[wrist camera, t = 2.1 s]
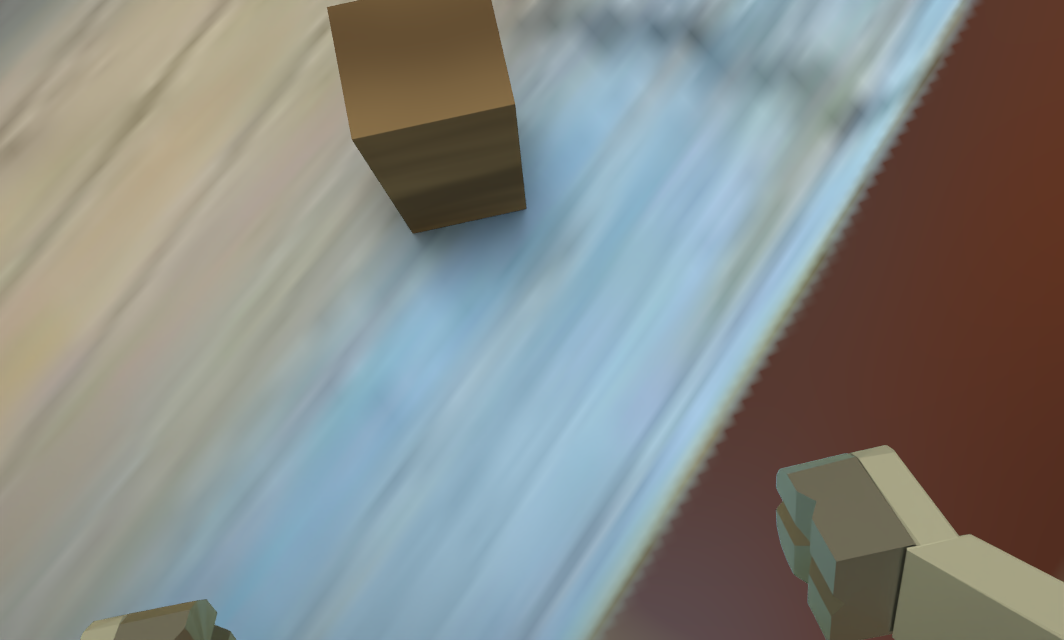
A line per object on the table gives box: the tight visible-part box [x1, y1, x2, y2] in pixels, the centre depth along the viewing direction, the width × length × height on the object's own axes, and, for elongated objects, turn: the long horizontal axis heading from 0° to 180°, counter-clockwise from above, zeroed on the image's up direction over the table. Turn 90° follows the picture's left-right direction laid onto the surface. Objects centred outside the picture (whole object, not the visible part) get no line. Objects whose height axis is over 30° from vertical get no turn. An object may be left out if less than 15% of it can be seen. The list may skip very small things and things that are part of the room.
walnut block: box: [327, 0, 526, 234], centre depth 25 cm, size 4×4×9 cm
